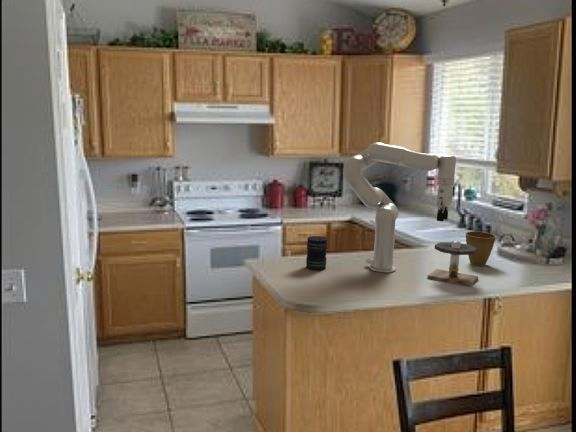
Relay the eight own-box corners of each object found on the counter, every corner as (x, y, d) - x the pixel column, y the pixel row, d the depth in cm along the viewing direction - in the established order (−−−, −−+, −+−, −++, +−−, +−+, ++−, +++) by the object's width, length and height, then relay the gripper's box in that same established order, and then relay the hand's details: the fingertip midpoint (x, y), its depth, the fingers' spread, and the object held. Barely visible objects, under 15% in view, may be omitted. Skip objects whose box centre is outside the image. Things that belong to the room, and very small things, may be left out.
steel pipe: (447, 276, 265) (450, 241, 262) (449, 273, 269) (452, 240, 266) (456, 277, 263) (459, 243, 260) (459, 275, 267) (462, 241, 264)
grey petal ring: (430, 250, 261) (430, 247, 260) (442, 243, 276) (442, 240, 276) (470, 256, 252) (470, 253, 251) (479, 249, 267) (480, 246, 266)
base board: (427, 278, 266) (427, 275, 265) (436, 271, 277) (436, 268, 277) (470, 286, 255) (470, 283, 255) (478, 279, 267) (478, 276, 267)
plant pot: (457, 261, 300) (459, 231, 297) (480, 259, 304) (483, 231, 301) (474, 268, 286) (477, 238, 283) (498, 267, 290) (502, 237, 288)
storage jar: (302, 266, 278) (303, 236, 275) (319, 264, 282) (320, 235, 280) (312, 271, 269) (313, 241, 267) (329, 269, 274) (331, 239, 271)
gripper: (448, 184, 253) (444, 223, 256) (458, 181, 267) (455, 218, 270) (431, 182, 257) (428, 221, 260) (442, 179, 271) (439, 216, 274)
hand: (442, 219), depth 265 cm, fingers open, 5 cm apart
